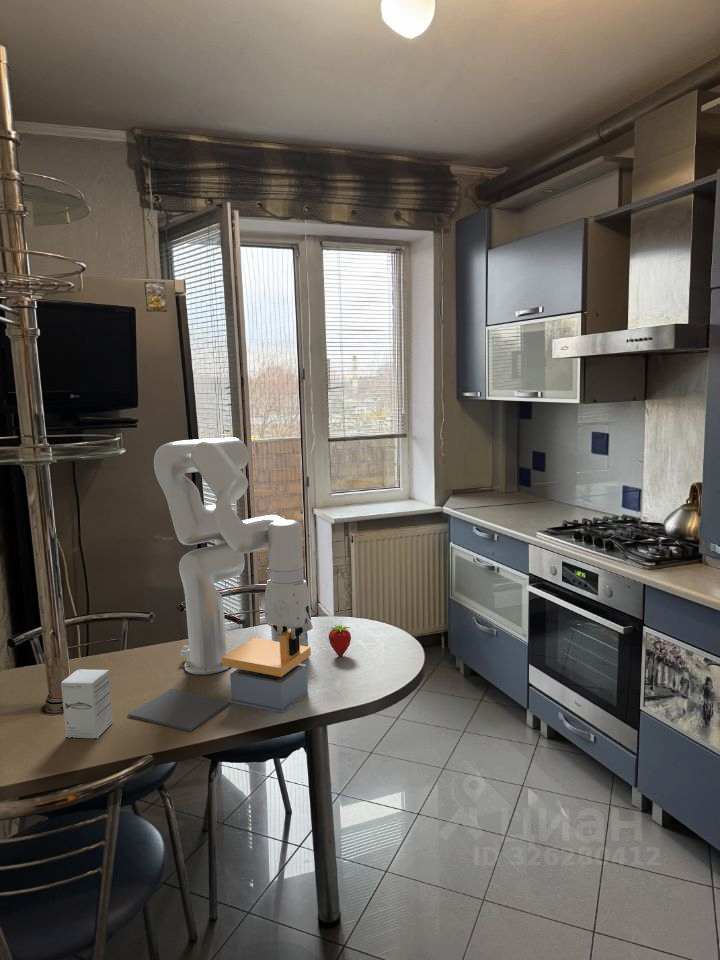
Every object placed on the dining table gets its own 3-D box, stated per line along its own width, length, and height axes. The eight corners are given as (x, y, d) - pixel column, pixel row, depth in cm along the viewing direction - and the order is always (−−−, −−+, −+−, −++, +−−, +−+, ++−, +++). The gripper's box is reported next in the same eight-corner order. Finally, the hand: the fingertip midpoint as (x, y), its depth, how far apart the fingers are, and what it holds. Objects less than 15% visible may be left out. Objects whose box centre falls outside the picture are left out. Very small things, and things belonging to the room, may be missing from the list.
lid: (222, 665, 157) (220, 632, 156) (254, 645, 168) (253, 614, 167) (281, 676, 150) (279, 642, 149) (310, 655, 161) (309, 622, 160)
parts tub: (231, 702, 158) (230, 673, 157) (258, 683, 168) (257, 656, 167) (282, 713, 152) (281, 683, 151) (307, 692, 162) (306, 664, 161)
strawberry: (346, 649, 188) (345, 614, 186) (355, 659, 181) (354, 623, 179) (326, 653, 186) (324, 618, 184) (334, 663, 179) (332, 626, 177)
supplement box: (64, 738, 145) (59, 682, 143) (83, 721, 152) (78, 667, 150) (97, 740, 143) (91, 683, 142) (114, 722, 151) (109, 668, 149)
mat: (127, 716, 153) (127, 714, 153) (170, 691, 166) (170, 688, 166) (190, 731, 145) (190, 728, 145) (230, 703, 158) (230, 701, 158)
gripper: (248, 576, 153) (252, 653, 156) (308, 583, 147) (311, 664, 149) (267, 567, 160) (270, 642, 163) (325, 574, 153) (328, 652, 156)
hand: (290, 652), depth 156 cm, fingers closed on lid, 1 cm apart
